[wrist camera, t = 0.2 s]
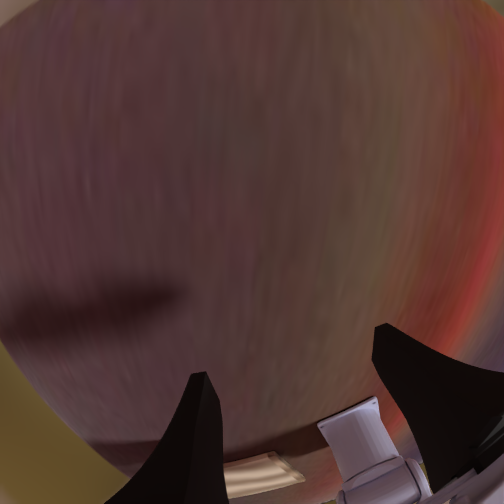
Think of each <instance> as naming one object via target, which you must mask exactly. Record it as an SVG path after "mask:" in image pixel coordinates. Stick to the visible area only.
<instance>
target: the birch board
mask: <svg viewBox="0 0 504 504" xmlns="http://www.w3.org/2000/svg"><path fill="white" fill-rule="evenodd" d="M223 467H224V477H225V483H226V490H227V495H228V499H229V498H235V497H241V496H246V495H251V494H256V493H260V492H265V491H269V490H273V489H277V488H281V487H285V486H288V485H292V484H295V483H298V482H303V481H306V480H305V477H304V476H303V475H302V474H300V473H299V472H298V471H297V470H296V469H294V468H293V467H292V466H291V465H290V464H288V463H287V462H286V461H285V460H284V459H283V458H282V457H280V456H279V455H278V454H277V453H276V452H275V451H271V452H268V453H264V454H261V455H257V456H254V457H250V458H246V459H242V460H238V461H233V462H229V463H224V464H223Z"/></svg>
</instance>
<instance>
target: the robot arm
mask: <svg viewBox="0 0 504 504" xmlns="http://www.w3.org/2000/svg"><path fill="white" fill-rule="evenodd" d="M372 362H373V364H374V366H375V368H376V371H377V373H378V375H379V377H380V379H381V380H382V382H383V383H384V385H385V386H386V388H387V390H388V391H389V393H390V394H391V396H392V397H393V399H394V400H395V402H396V403H397V405H398V407H399V408H400V410H401V411H402V413H403V415H404V416H405V418H406V420H407V422H408V424H409V426H410V429H411V431H412V433H413V435H414V438H415V440H416V443H417V445H418V448H419V450H420V453H421V456H422V459H423V462H424V465H425V468H426V471H427V476H428V479H429V483H430V488H431V490H432V492H433V494H434V495H432V494H431V492H430V488H429V485H428V482H427V480H426V478H425V476H424V474H423V472H422V470H421V468H420V466H419V465H418V463H417V462H416V460H415V459H410V458H407V459H405V460H403V458H402V456H399V454H398V452H397V450H396V448H395V446H394V444H393V442H392V441H391V439H390V437H389V435H388V433H387V431H386V429H385V427H384V425H383V423H382V422H381V420H380V414H379V407H378V401H377V398H376V397H372V398H370V399H368V400H366V401H364V402H362V403H360V404H358V405H356V406H354V407H352V408H350V409H348V410H346V411H343V412H341V413H339V414H337V415H334V416H332V417H330V418H328V419H325V420H323V421H320V422H318V423H317V426H318V428H319V430H320V431H321V433H322V435H323V436H324V438H325V439H326V441H327V443H328V444H329V446H330V447H331V449H332V452H333V454H334V457H335V460H336V463H337V465H338V468H339V471H340V474H341V476H342V479H343V482H344V483H343V484H341V485H342V488H343V490H341V491H339V492H338V495H337V497H336V504H413V503H415V502H417V501H418V502H417V503H416V504H443V503H445V502H446V501H448V500H449V499H451V500H450V502H449V504H504V373H503V372H496V371H491V370H486V369H482V368H478V367H475V366H471V365H468V364H465V363H463V362H460V361H457V360H455V359H452V358H450V357H448V356H445V355H443V354H441V353H439V352H437V351H435V350H433V349H431V348H429V347H427V346H426V345H424V344H422V343H420V342H418V341H417V340H415V339H413V338H412V337H410V336H408V335H407V334H405V333H403V332H402V331H400V330H398V329H397V328H395V327H393V326H392V325H390V324H388V323H385V324H382V325H379V326H377V327H375V331H374V342H373V352H372ZM404 461H405V462H404ZM104 504H229V501H228V495H227V490H226V483H225V477H224V467H223V423H222V414H221V407H220V400H219V398H218V396H217V394H216V392H215V390H214V388H213V386H212V383H211V381H210V379H209V377H208V375H207V373H206V371H205V372H199V373H193V374H191V375H190V377H189V380H188V383H187V386H186V388H185V391H184V393H183V396H182V398H181V400H180V403H179V405H178V407H177V409H176V412H175V414H174V416H173V418H172V420H171V422H170V424H169V426H168V428H167V430H166V431H165V433H164V435H163V437H162V438H161V440H160V442H159V443H158V445H157V446H156V448H155V450H154V451H153V453H152V454H151V455H150V457H149V458H148V459H147V461H146V462H145V463H144V465H143V466H142V467H141V468H140V470H139V471H138V472H137V473H136V474H135V475H134V476H133V477H132V478H131V479H130V481H129V482H128V483H127V484H126V485H125V486H124V487H123V488H122V489H121V490H119V491H118V492H117V493H116V494H115V495H114V496H112V497H111V498H110V499H109V500H108V501H106V502H105V503H104Z"/></svg>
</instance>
